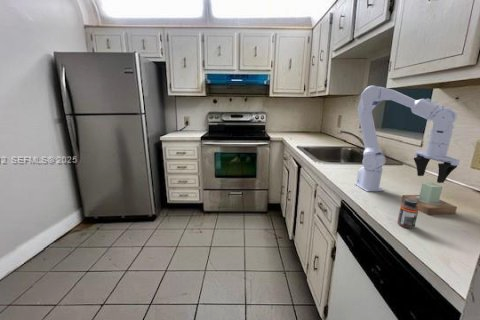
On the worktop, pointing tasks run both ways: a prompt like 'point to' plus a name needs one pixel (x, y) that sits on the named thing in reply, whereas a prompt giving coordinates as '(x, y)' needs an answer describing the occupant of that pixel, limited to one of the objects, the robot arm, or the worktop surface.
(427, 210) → the walnut base
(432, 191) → the sage block
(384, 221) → the worktop surface
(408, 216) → the supplement bottle
